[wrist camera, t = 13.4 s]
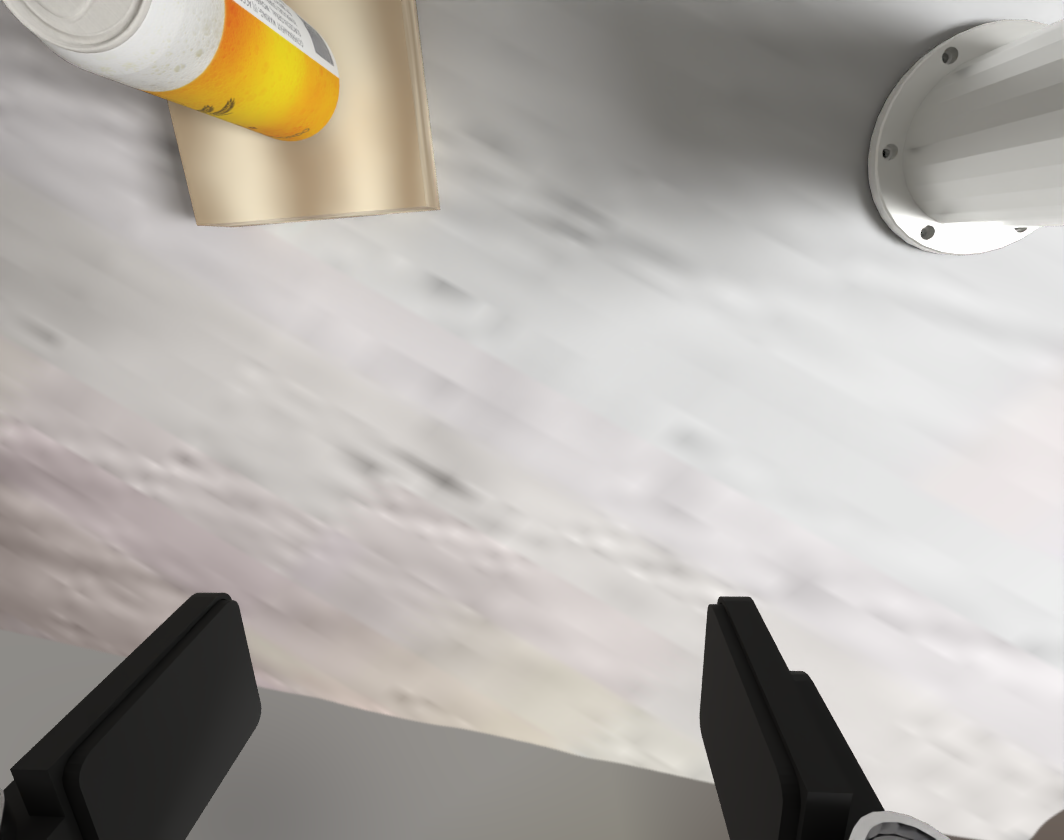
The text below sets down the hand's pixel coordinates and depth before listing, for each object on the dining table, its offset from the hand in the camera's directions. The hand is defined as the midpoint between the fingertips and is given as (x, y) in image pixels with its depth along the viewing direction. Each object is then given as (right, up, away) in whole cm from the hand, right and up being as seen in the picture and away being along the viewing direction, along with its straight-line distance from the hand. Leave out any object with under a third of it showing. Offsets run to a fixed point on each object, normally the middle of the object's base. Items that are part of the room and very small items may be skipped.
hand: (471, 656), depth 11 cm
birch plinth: (-12, +25, +24) cm, 37 cm away
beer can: (-12, +23, +20) cm, 33 cm away
